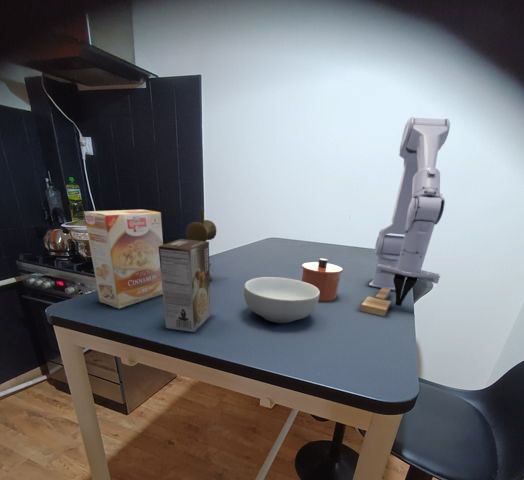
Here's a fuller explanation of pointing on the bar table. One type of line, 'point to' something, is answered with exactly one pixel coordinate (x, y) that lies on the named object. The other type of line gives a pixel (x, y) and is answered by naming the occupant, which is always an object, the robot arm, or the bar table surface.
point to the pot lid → (322, 267)
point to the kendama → (201, 230)
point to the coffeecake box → (125, 255)
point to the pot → (323, 284)
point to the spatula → (377, 303)
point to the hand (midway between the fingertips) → (398, 304)
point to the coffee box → (185, 283)
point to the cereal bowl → (281, 298)
